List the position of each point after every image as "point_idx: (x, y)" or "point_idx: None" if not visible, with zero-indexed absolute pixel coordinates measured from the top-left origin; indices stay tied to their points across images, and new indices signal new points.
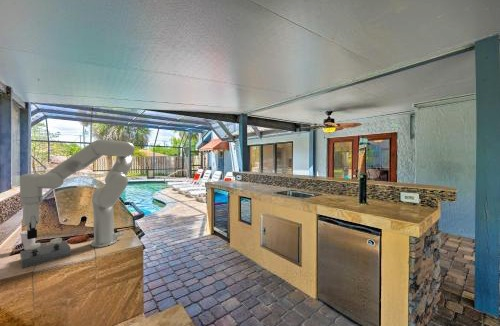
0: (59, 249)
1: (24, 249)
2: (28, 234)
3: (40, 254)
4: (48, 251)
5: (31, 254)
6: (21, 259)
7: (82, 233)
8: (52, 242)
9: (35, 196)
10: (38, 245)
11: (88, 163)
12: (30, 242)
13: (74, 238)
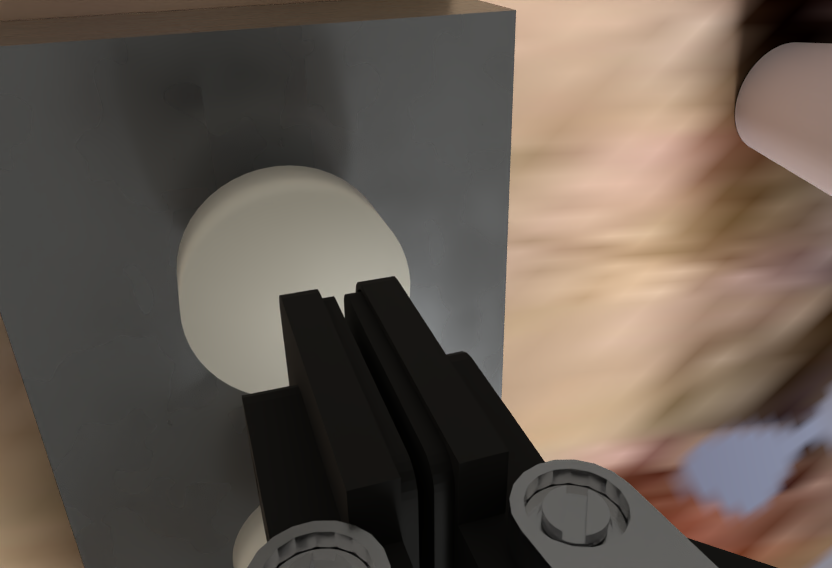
0: (115, 548)
1: (797, 45)
2: (315, 404)
3: (42, 328)
4: (126, 423)
5: (163, 193)
6: (204, 20)
7: (783, 557)
8: (262, 543)
9: None
10: (213, 369)
11: None
12: (821, 150)
13: (700, 511)
